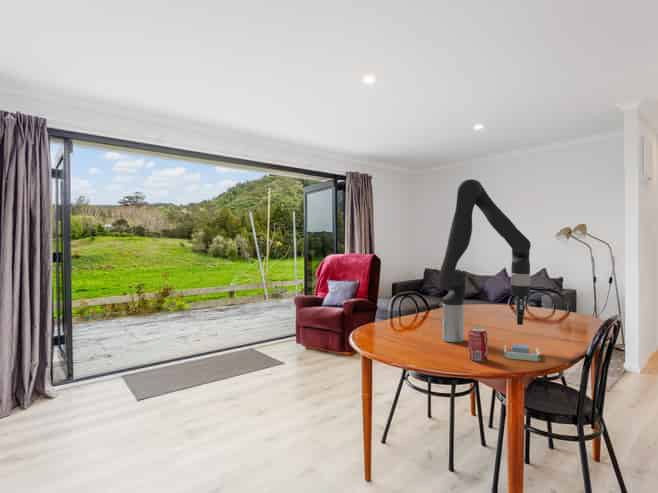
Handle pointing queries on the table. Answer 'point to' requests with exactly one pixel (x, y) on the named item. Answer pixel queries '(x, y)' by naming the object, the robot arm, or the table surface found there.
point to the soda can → (478, 344)
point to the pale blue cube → (520, 348)
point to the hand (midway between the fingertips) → (519, 324)
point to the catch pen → (522, 355)
